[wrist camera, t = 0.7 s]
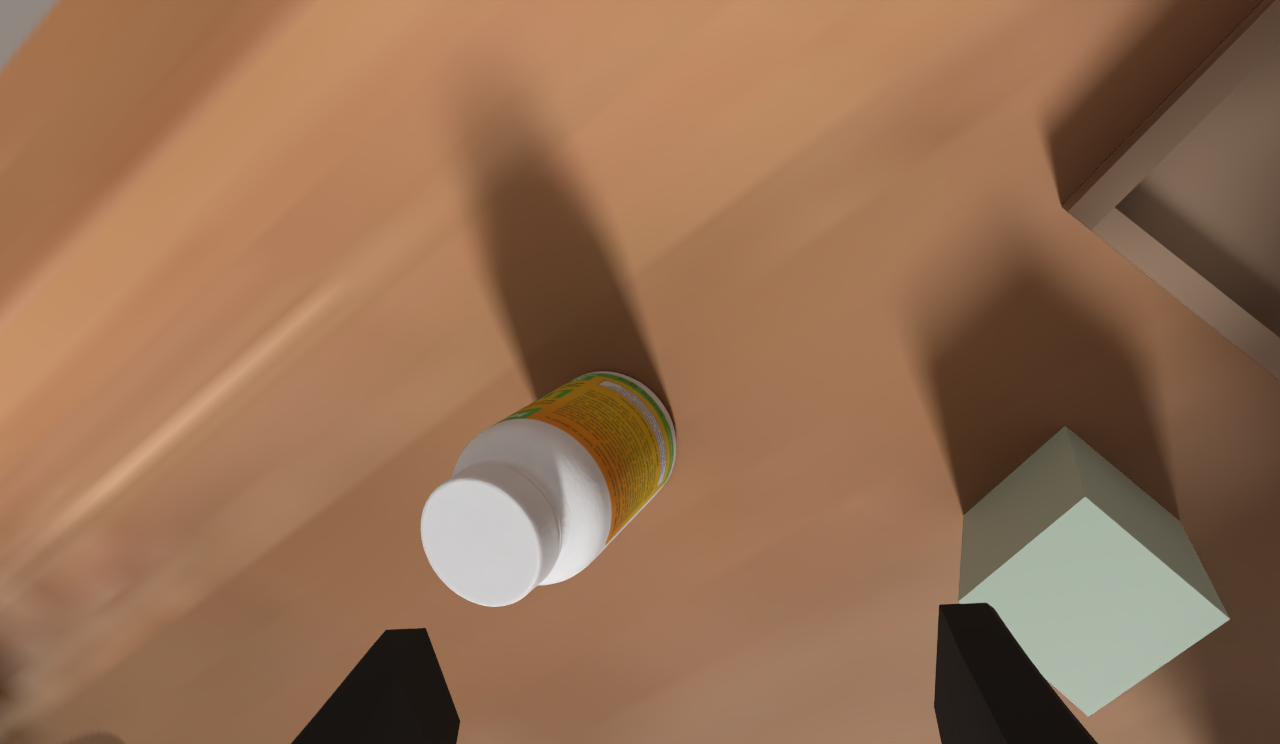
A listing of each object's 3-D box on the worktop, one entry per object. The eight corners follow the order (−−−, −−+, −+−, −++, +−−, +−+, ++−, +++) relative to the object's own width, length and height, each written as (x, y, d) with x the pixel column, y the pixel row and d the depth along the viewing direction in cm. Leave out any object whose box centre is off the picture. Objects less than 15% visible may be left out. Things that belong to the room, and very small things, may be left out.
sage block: (1180, 521, 26) (1230, 618, 21) (1068, 606, 28) (1088, 716, 23) (1065, 425, 27) (1085, 496, 21) (963, 515, 29) (958, 601, 23)
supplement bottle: (601, 339, 32) (457, 413, 23) (708, 437, 31) (600, 552, 23) (526, 435, 34) (368, 536, 25) (624, 528, 34) (497, 664, 25)
